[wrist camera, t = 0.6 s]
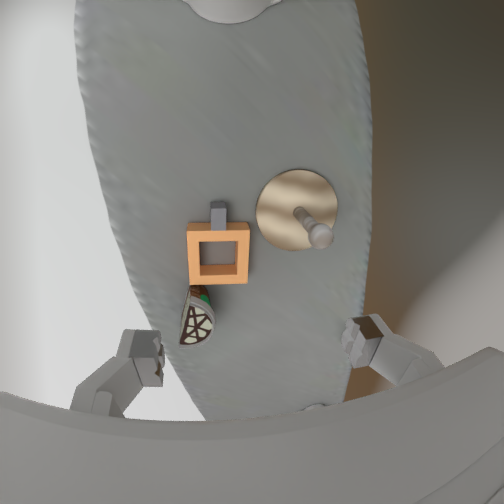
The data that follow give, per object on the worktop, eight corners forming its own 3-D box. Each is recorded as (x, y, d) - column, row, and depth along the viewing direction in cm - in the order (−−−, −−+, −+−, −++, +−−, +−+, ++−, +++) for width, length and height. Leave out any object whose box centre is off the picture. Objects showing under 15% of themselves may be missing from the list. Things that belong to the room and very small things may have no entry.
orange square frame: (244, 272, 57) (247, 283, 53) (190, 273, 55) (190, 284, 51) (247, 201, 50) (251, 208, 46) (187, 202, 48) (185, 209, 45)
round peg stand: (258, 167, 47) (277, 185, 35) (339, 172, 50) (380, 192, 37) (253, 248, 55) (268, 290, 42) (327, 246, 57) (359, 284, 44)
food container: (206, 322, 61) (207, 354, 53) (180, 317, 60) (178, 349, 51) (221, 279, 57) (224, 309, 48) (192, 272, 55) (190, 302, 46)
